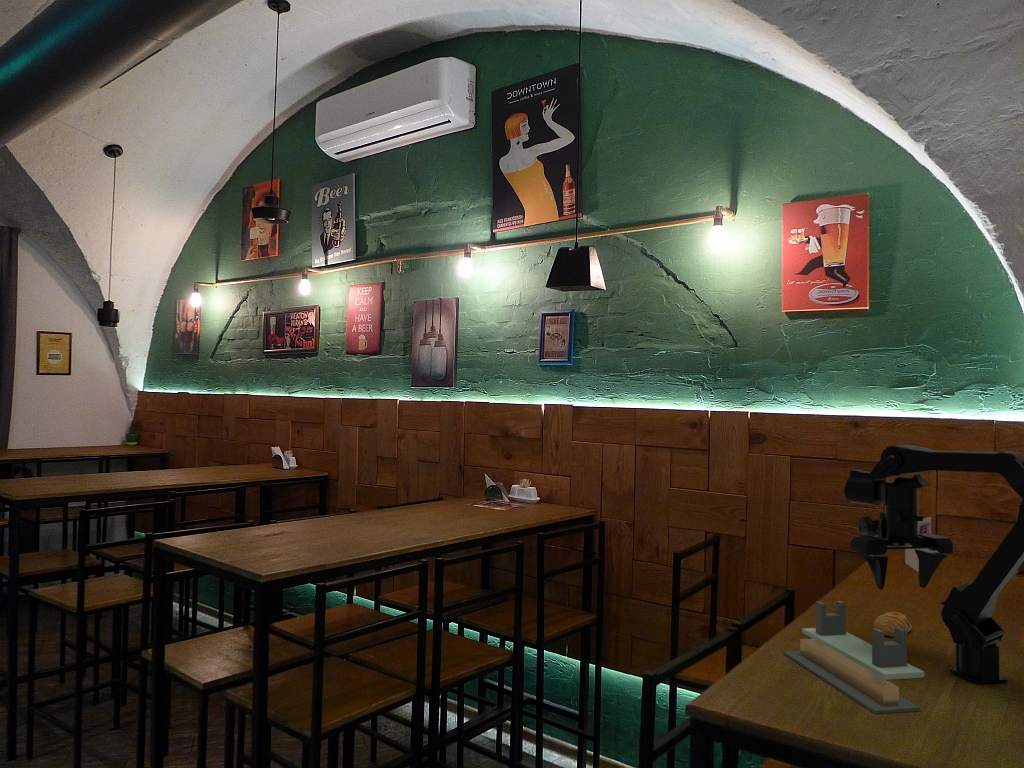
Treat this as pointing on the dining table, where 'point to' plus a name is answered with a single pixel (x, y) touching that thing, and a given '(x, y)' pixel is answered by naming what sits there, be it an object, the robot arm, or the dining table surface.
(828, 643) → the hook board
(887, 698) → the copper rail
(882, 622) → the pastry
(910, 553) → the greeting card
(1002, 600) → the dining table surface
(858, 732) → the dining table surface
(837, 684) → the rubber mat
